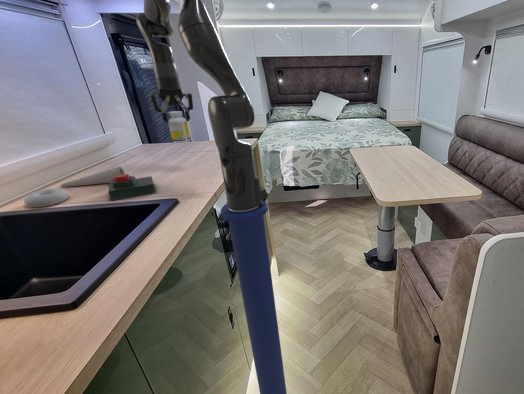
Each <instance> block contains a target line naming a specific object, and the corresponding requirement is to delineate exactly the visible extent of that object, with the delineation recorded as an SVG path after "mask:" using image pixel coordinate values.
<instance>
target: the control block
mask: <svg viewBox="0 0 524 394" xmlns="http://www.w3.org/2000/svg"><path fill="white" fill-rule="evenodd" d="M129 177H130V179H129V180H126V181H121V182H115V179H112V180H110V182H109V183H108V184H109V186H108V191H107V193H108V195H109V198H110V201H112V202H114V201H118V200H123V199H129V198H134V197H140V196H146V195H150V194H151V195H152V194H156V188H155V184H154V180H153V176H152V175H151V176H144V177H138V178H136V176H132V175H129Z"/></svg>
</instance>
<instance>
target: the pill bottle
mask: <svg viewBox="0 0 524 394" xmlns="http://www.w3.org/2000/svg"><path fill="white" fill-rule="evenodd" d="M168 115H169V116H168V117H169V119H168V123H167V124H168V127H169V131H170V136H171V139H172V142H173V143H175V144H181V143H187V142H190V141H192V140H191V133H190V129H189V125H188V121H187V120H186V117H184V114H183V111H182V110H174V111H173V110H172V111H168Z"/></svg>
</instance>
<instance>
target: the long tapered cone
mask: <svg viewBox="0 0 524 394" xmlns="http://www.w3.org/2000/svg"><path fill="white" fill-rule="evenodd" d="M119 174H126V173H125V170H124V168H122V167H121V166H117V167H113V168H110V169H107V170H103V171H100V172H97V173H93V174H89V175H86V176H84V177H80V178H77V179H72V180H71V181H70V180H69V181H65V182H63V183H61V184H60V185H59V186H60V188H69V187H80V186H91V185H92V186H93V185H100V184H103V185H104V184H110V183H109V182H110V180H112V179H114V176H116V175H119Z"/></svg>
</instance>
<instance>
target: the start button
mask: <svg viewBox="0 0 524 394" xmlns="http://www.w3.org/2000/svg"><path fill="white" fill-rule="evenodd" d="M129 176H130V174H129V173H125V174H119V175H116V176H114V179H115V182H121V181H126V180H129V179H130V177H129Z"/></svg>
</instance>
